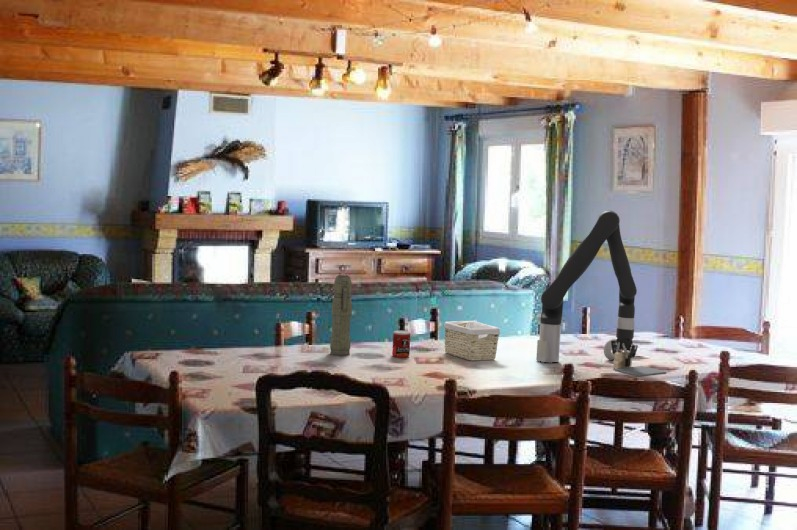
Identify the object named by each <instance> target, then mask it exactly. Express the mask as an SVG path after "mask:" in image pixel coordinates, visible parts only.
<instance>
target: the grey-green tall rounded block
mask: <svg viewBox="0 0 797 530" xmlns="http://www.w3.org/2000/svg"><path fill="white" fill-rule="evenodd" d="M333 283H334V284H333V287H334V288H333V293H334V295H333V298H332V301H331V302H332V303H331V316H332V325H331V329H332V330H331V337H330V343H329V346H330V347H329V349H330V353H329V354H330V355H331V356H336V357H340V356H341V357H347V356H350V354H351V353H350V351H351V345H352V344H351V343H352V342H351V341H352V340H351V337H350V335H351V317H352V313H353V312H352V311H353V302H352V286H353V285H352V284H353V282H352V279H351V276H349V275H348V274H338V275H336V277H335V279H334V282H333Z"/></svg>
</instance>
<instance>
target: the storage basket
mask: <svg viewBox="0 0 797 530" xmlns="http://www.w3.org/2000/svg"><path fill="white" fill-rule="evenodd" d="M443 328H444V351H445V352H444V353H445V354H448V355H452V356H454V357H458V358H461V359H463V360H468V361H472V362H473V361H487V360H488V361H490V360H495V359H496V356H497V350H498V344H499V343H498V342H499V339H500V334H501V332H500V330H501V329H500V327H497V326H493V325H489V324H486V323H482V322H480V321H476V320H457V321H456V320H455V321H445V322H444V325H443Z"/></svg>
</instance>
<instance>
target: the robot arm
mask: <svg viewBox="0 0 797 530" xmlns="http://www.w3.org/2000/svg"><path fill="white" fill-rule="evenodd" d="M620 219H621V218H620V216H619V215H618V213H616V212H615V211H613V210H609V209H608V210H605V211H602V212H601V213H600V214H599V215H598V218H597V221H596V222H595V224H594V226H593V227H592V229H591V230H590V232H589V233H588V235H587V236H586V237H585V238H584V239H583V240H582V241H581V242H580V243H579V244H578V245H577V247H576V248H574V250H573V251H572V252H571V254H570V256H569V257H568V258H567V260H566V262H565V263H564V265H563V266H562V268H561V270H559V273H558V275H557V277H556V278H555V279H554V280H553V282H552V283H550V285H549V286H548V287H547V288H546V289H544V291H543V292H542V294H541V297H540V302H541V304H542V305H541V314H540V324H539V338H538V339H537V341H536V342H537V345H536V360H537V362H540V361H541V362H540V363H544V362H551V363H550V364H553V363H552V362H558V363H559V361H560V350H561V349H560V346H561V332H562V331H561V330H562V319H563V310H564V309H563V307H564V298H565V296H566V294H567V293H568V292H569V290H570V288H572V286H573V285H574V284H575V283H576V282H577V281H578V279H580V277H582V275H583V274H585V272H586V270H588V268H589V267H590V265H591V264H592V262H593V261H594V260H595V258H596V256H597V255H598V253H599V251H600V249H601V248H602V246H603V245H604V243H605V242H606V243H607V245H608V249H609V255H610V261H611V265H612V267H613V271H614V275H615V277H616V279H617V283H618V287H619V289H618V290H619V291H618V303H619V305H618V313H617V320H616V332H615V337H616V339H617V340H612V341H611V345H612V348H611V353H613V354H615V353H618V352H624V353H625V355H626V358H625V367H629V366H630V362H631V358H632V359H634V358H635V357H636V355H637V350H638V348H639V346H638V345H637V344H634V342H633V339H634V334H635V316H636V315H635V314H636V313H635V311H636V307H635V299H636V298H635V296H636V295H637V291H638V289H637V286H636V284H635V281H634V280H635V279H634V277H633V274H632V269H631V266H630V265H631V264H630V262H629V258H628V255H627V253H626V249H625V247H624V244H623V240H622V235H621V229H620V228H621V227H620V223H621V222H620V221H621V220H620ZM617 345H618V346H617ZM628 354H629V356H628ZM536 360H535V361H536Z"/></svg>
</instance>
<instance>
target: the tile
mask: <svg viewBox="0 0 797 530" xmlns="http://www.w3.org/2000/svg"><path fill="white" fill-rule="evenodd" d="M628 356H629V354H628ZM625 358H626V355H625V353H624V351H623V352H618V353H615V358H614V362H613V369H614V368H615V369H617V368H626V367H625ZM632 362H633V358H631V362H630V366H629V367H633V366H632V364H633V363H632Z"/></svg>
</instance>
